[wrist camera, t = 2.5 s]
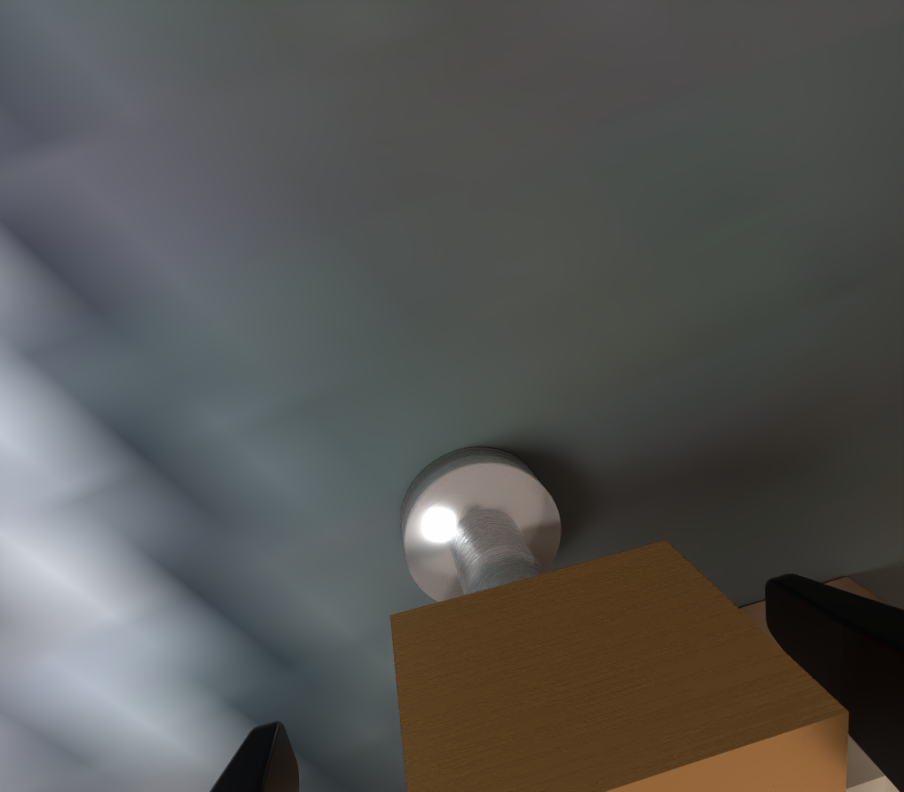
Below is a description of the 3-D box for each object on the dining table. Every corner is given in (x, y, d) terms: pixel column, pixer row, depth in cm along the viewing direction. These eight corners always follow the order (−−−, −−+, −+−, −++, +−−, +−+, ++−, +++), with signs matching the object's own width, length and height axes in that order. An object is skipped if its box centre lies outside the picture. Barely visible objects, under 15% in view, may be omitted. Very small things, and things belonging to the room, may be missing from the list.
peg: (410, 604, 14) (492, 1124, 6) (375, 461, 12) (413, 853, 4) (560, 564, 14) (837, 989, 6) (540, 421, 13) (849, 710, 5)
